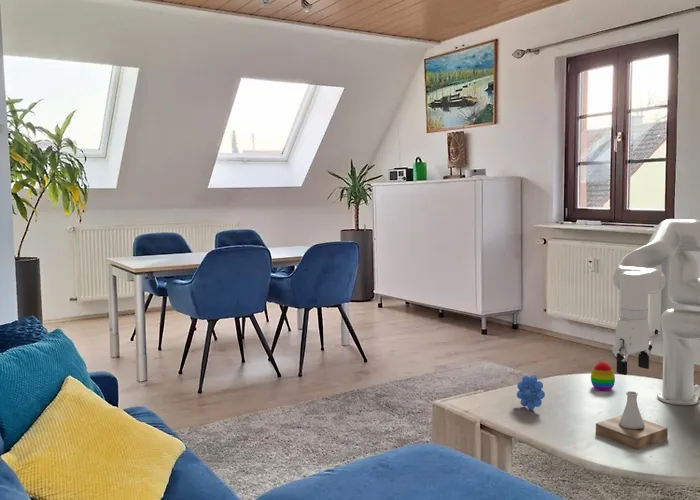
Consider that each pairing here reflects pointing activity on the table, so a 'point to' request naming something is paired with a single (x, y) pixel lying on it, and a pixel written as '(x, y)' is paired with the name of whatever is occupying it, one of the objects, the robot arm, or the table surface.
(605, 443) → the table surface
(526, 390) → the grapes
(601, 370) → the decorative egg
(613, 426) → the flat wooden block
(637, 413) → the flask
